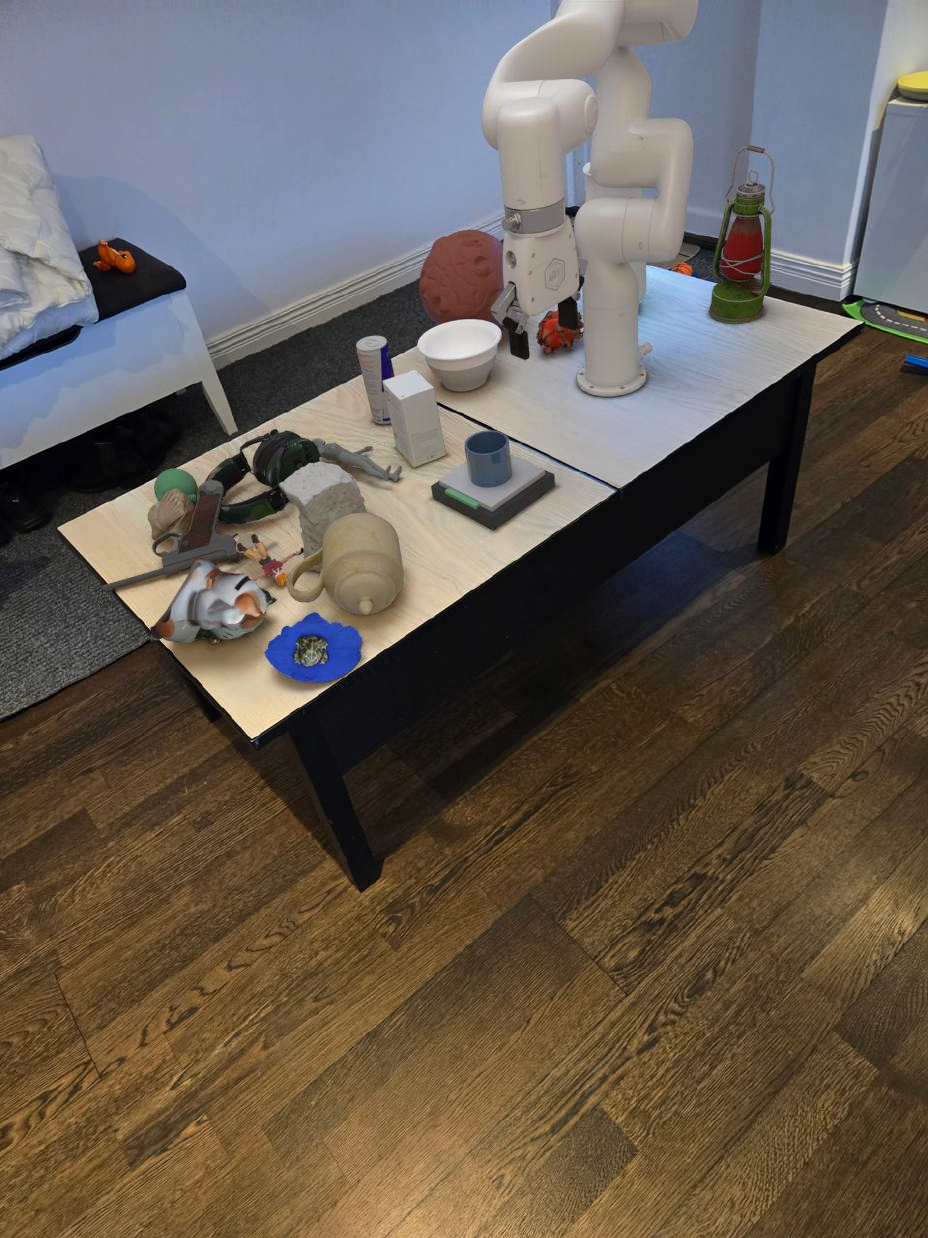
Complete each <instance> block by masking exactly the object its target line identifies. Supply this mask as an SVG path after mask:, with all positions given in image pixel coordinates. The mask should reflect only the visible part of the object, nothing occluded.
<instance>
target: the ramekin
mask: <svg viewBox="0 0 928 1238" xmlns="http://www.w3.org/2000/svg"><path fill="white" fill-rule="evenodd" d="M463 446H464V454H465V459H466V460H465V461H466V462H467V467H468V473H469V478H470V481H471V482H472V483H473V484H474V485H476V486H479V487H485V488H489V487H496V486H500V485H502V484H504V483H506V482H507V481H508V480H509V479H510V478H511V476H512V463H511V455H512V454H511V447H510V438H509V436H508V435H507V434H506V433H504V432H502V431H501V430H492V429H489V430H481V431H479V432H475V433H473V434H471V435H469V436H468V437H467V438H466V439H465V441H464V445H463Z"/></svg>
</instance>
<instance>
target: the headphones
mask: <svg viewBox="0 0 928 1238" xmlns="http://www.w3.org/2000/svg"><path fill="white" fill-rule="evenodd" d="M256 444H259V445H258V447H257V448H256V450H255V452H254V454H253V457H252V461H251V465H250V464H249V463H248V462H249V461H248V459H247V456H246V455H245V453H244V451H243V450H245V449H246V448H249V447H251V446H253V445H256ZM317 462H321V457H320V455H319V451H318V448H317V446H316V445H315V443H314V442H313V440H311V439H309V438H306V437H302V436H300V435H299V434H298V433H296V432H294V431H292V430H286V429H285V430H283V431H281V432H279V430H278V429H277V428H274V429H271V430H270V431H269V432H266V433H265V434H263V435H259V436H257V437H254V438H251V439H249V440H247V441H245V442H244V443H243V444H242V445H240V447H239V453H237V454H235V455H233V456H231V457H227V458H225V459H224V460H222V461H221V462H220V463H219V464H218V465H216V467H214V468H213V469H212V471H211V472H210V473H209V474H208V475H207V477H206V478H205V480H204V482H206V481H208V480H216V481H219V482H221V483H222V485H223V488H224V495H223V500H222V502H223V501H224V498H225V497H226V495H227V493H228V492H229V491H230V490H231V489H232V488H234V487H236V486H237V485H238V484H239V483H241V482H242V481H243V480H244V479H245V477H246V475H247V474H249V473H250V474H251V475H253V476H254V478H255V479H256V480H257V481H258V482H259V483H260V484H262V485H264V486H266V487H270V489H267V490H264V491H263V492H261V493H260V494H257V495H255V496H253V497H250V498H248V499H245V500H243V501H238V502H234V503H225V504H224V503H222V504H221V508H220V512H219V517H218V521H219V522H221V523H224V525H227V526H228V525H244V524H245V525H246V524H247V523H252V522H257V521H260V520H262V519H264V518H266V517H269V516H271V515H275V514H278V513H279V512H281V511H283V510H284V509H285V508H286V507H287V504H289V503H292V502H293V501H290V500H289V499H288V497H287V495H286V494H285V493H284V491H283V490H282V489H281V487H280V486H279V484H280V483H281V482H284V481H285V480H286V479H287V478H288V477H289V476H291V475H292V474H293V473H294V472H295V471H297V470H299V469H300V468H301V467H305V466H306V465H307V464H309V463H317ZM293 503H294V502H293Z"/></svg>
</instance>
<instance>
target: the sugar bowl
mask: <svg viewBox="0 0 928 1238" xmlns="http://www.w3.org/2000/svg"><path fill="white" fill-rule="evenodd" d="M320 563H322V570H321V572H320V573H319V576H318V579H317V581H316V584H315V585H314V586H313V587H312V588H310V589H307V590H299V589H297V588H295V585H296V583H297V582H298V580H299V578H300V577H301V576H302V575H304V574H305V573H306V572H307V571H309V569H310V568H312V567H314V566H316V565H318V564H320ZM403 586H404V565H403V556H402V552H401V545H400V540H399V535H398V533H397V530H396V529H395V527H394V526H393V525H392V523H391V522H389V521H388V520H387V519H385V518H384V517H382V516H379V515H377V514H374V513H369V512H368V513H354V514H349V515H346V516H343V517H341V518H339V519H337V520H336V521H334V522H333V523H332V524H331V525H330V526H329V527H328V529H327V530H326V532H325V534H324V537H323V545H322V548H321V549H319V550H318V551H317V552H316V553H314V554H313V555H311V556H309V557H307V558H305V559H304V558H303V559H302V560H301V561H300V562H298V563H297V564H296V565H295V566H294V567H293V568H292V570H291V571H290V572H289V575H288V577H287V580H286V588H287V592H288V594H289V595H290V597H291V598H292V599H293V600H294V601H296V602H298V603H300V604H301V603H307V604H308V603H312V602H314V601H316V600H317V599H318V598H320V596H321V595H322V593H323V591H324V590H325V592H326V594H327V595H328V596H329V598H331V600H332V601H333V602H335V603H336V604H337V605H338V606H339V607H340V608H342V609H343V610H345V611H346V612H348V613H351V614H356V615H364V616H368V615H372V614H376V613H379V612H381V611H384V610H385V609H387V608H388V607H389V606H390V605H391V604H392V603H393V602H394V599H395V598H396V597H397V596H398V595H399V593H400V591H401V590H402V589H403Z"/></svg>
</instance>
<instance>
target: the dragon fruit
mask: <svg viewBox="0 0 928 1238" xmlns="http://www.w3.org/2000/svg"><path fill="white" fill-rule="evenodd" d="M582 320H583V315H582V314H581V312H580V311H578V329H577V330H575V331H573V330H570V329H567V328H564V327H561V326H560V325H559V318H558V309H556V310H547V312H546V314H545V316H544V317H543V318H542V319H541V321H540V322H538V325H537V326H538V327H537V328H538V329H537V333H536V336H535V340H537V341H536V342H537V344H538V345H539V346H540V347H541V348H542V347H545V348H544V349H543V353H544V354H547V353H552V354H553V353H555V352H557V351H558V350H559V349H564V350H565V351H566V352H569V351H570V350H571V349H572V348H573V347H574V342H575V340H577V341H579V340H582V339H584V325H583V321H582ZM581 329H583V330H582V331H581Z"/></svg>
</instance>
